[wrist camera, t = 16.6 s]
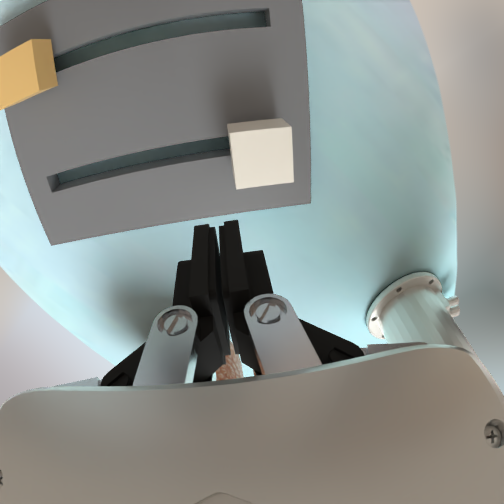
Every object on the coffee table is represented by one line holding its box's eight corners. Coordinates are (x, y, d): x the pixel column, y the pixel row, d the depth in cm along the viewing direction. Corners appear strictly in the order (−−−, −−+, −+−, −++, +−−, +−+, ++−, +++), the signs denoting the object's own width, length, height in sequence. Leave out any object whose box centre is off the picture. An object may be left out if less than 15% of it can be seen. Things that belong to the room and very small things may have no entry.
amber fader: (64, 39, 16) (31, 39, 12) (70, 82, 19) (39, 90, 14) (26, 57, 16) (-10, 62, 12) (33, 97, 18) (-2, 110, 14)
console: (289, -41, 15) (296, -48, 14) (304, 193, 28) (310, 203, 27) (5, 30, 14) (-7, 31, 12) (58, 234, 27) (51, 245, 25)
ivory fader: (275, 112, 23) (291, 126, 19) (278, 158, 25) (293, 182, 21) (225, 118, 23) (229, 133, 18) (230, 163, 25) (236, 189, 21)
